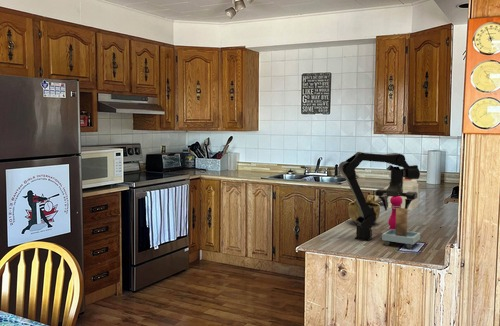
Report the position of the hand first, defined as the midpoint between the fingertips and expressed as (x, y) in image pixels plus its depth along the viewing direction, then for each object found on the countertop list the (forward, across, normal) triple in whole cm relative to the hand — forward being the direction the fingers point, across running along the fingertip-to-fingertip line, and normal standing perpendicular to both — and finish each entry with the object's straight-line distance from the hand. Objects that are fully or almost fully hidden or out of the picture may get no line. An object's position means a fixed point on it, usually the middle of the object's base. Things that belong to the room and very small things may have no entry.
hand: (395, 211), depth 233 cm
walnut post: (+10, +6, -10) cm, 15 cm away
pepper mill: (+13, -4, +14) cm, 20 cm away
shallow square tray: (+13, +6, -10) cm, 17 cm away
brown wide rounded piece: (+13, -24, +21) cm, 35 cm away
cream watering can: (+13, -25, +83) cm, 88 cm away
